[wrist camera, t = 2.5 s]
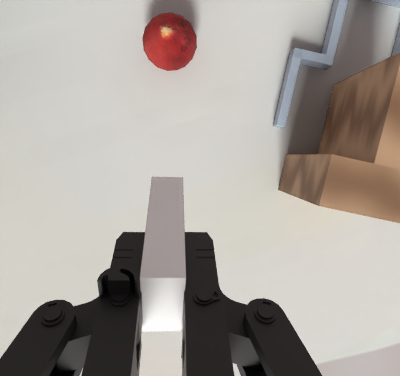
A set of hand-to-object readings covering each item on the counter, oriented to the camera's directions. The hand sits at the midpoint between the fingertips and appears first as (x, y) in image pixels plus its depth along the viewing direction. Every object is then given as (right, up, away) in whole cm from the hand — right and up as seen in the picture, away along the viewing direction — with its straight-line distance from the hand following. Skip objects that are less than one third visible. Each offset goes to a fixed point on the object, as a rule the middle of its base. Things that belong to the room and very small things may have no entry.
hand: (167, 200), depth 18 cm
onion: (-2, +17, +25) cm, 30 cm away
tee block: (+19, +6, +26) cm, 33 cm away
